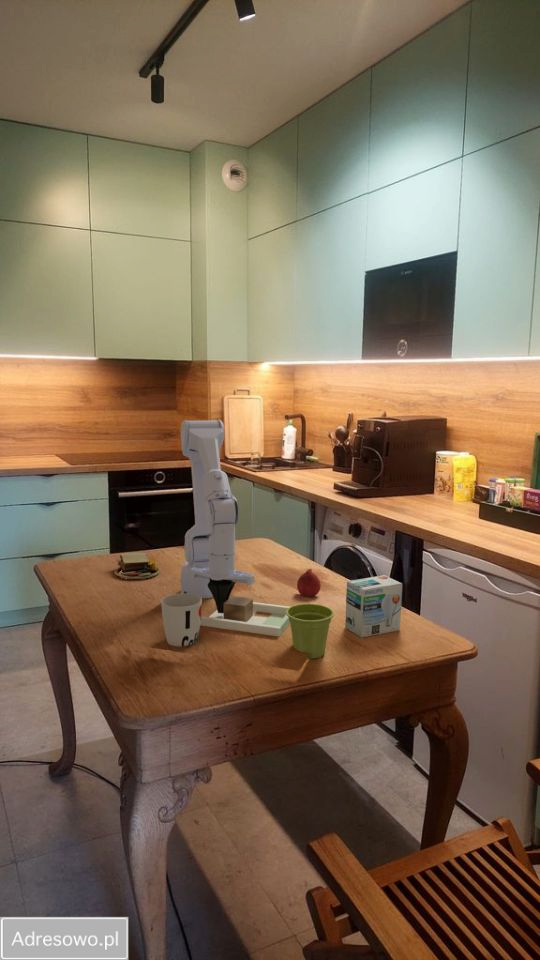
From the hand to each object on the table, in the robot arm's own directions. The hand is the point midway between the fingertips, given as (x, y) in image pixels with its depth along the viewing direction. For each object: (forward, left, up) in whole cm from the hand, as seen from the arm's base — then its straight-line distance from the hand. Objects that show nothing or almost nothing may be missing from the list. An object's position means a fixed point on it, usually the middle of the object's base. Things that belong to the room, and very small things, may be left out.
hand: (221, 611), depth 143 cm
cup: (-3, -15, -3) cm, 15 cm away
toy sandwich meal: (-36, +26, -3) cm, 44 cm away
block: (+4, 0, -1) cm, 4 cm away
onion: (+14, +21, -3) cm, 26 cm away
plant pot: (+22, -9, -3) cm, 24 cm away
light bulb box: (+32, +8, -3) cm, 34 cm away
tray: (+6, 0, -2) cm, 7 cm away
